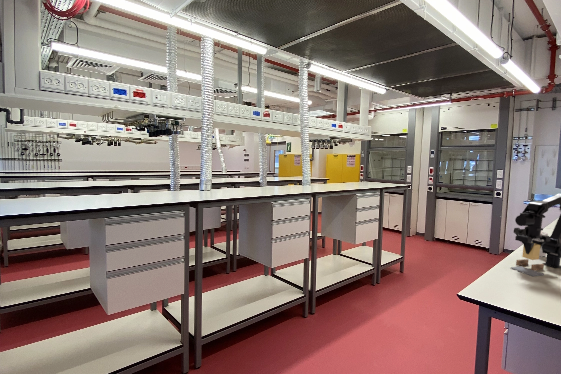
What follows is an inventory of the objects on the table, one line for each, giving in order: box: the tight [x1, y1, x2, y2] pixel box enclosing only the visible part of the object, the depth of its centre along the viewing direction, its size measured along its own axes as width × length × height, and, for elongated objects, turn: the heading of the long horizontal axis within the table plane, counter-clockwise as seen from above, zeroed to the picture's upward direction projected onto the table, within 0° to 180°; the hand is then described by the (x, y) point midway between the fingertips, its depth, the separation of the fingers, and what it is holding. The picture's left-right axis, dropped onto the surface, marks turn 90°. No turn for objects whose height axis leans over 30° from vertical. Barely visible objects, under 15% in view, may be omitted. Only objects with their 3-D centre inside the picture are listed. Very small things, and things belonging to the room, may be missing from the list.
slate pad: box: [510, 265, 545, 277], centre depth 156 cm, size 8×11×1 cm
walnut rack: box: [515, 258, 545, 271], centre depth 163 cm, size 8×9×3 cm
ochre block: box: [521, 243, 540, 261], centre depth 162 cm, size 5×5×8 cm
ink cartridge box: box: [532, 230, 549, 258], centre depth 187 cm, size 9×5×15 cm, turn 168°
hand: (530, 253), depth 162 cm, fingers closed on ochre block, 5 cm apart
